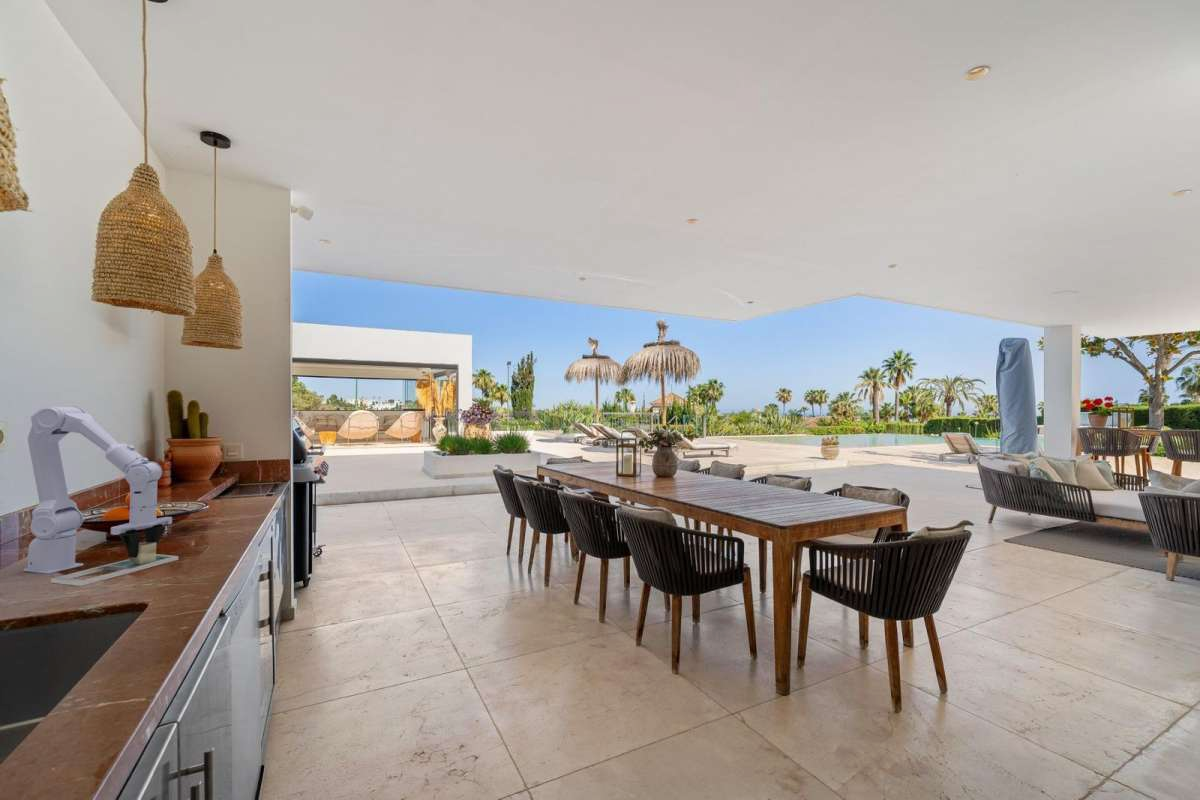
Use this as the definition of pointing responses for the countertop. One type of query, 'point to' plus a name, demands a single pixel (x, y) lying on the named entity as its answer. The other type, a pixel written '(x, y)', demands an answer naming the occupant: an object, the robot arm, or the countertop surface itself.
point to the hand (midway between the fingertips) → (141, 555)
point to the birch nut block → (145, 553)
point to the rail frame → (119, 567)
